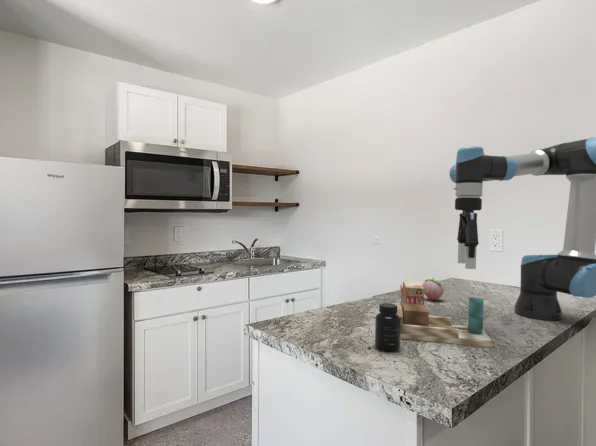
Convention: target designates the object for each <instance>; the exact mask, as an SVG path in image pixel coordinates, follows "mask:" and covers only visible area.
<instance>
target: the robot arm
mask: <svg viewBox="0 0 596 446" xmlns="http://www.w3.org/2000/svg"><path fill="white" fill-rule="evenodd" d="M526 175H532V176H534V177H535V176H536V177H538V176H565V178H566V179H567V181H569V183H570V185H569V193H568V201H567V202H568V204H567V211H566V221H565V231H564V239H563V248H562V249H561V251H560V252H558V253H557V254H525V255H523V257H521V264H520V292H519V295H518V297H517V299H516V302H515V305H514V311H513V312H514V313H515V314H517V315H519V316H521V317H524V318H525V317H526V318H530V319H535V320H542V321H543V320H544V321H558V320H562V319H563V311H562V308H561V305H560V302H559V300H558V299H559V298H558V293H561V294H567V295H571V296H573V297H578V298H579V297H580V298H585V299H586V298H587V299H588V298H594V297H596V253H595V250H596V137H595V136H594V137H589V138H585V139H579V140H575V141H569V142H563V143H559V144H555V145H552V146H549V147H545V148H541V149H535V150H532V151H531V152H529V153H525V154H516V155H510V156H509V155H508V156H505V155H488V154H485V152H484V148H483V147H482V146H479V145H478V146H477V145H475V146H473V145H471V146H462V147H461V148H458V150H457V152H456V160H455V163H454V164H453V165H452V166H451V167H450V170H449V178H450V180H451V181H452V182H453V183H454V184H455V186H453V190H455V197H456V198H455V199H454V209H455V210H456V211H462V212H460V213H459V222H458V230H457V238H456V240H457V242H458V245H457V264H464V269H465V270H477V269H476V268H477V267H476V266H477V246H479V235H478V234H479V231H478V220H477V219H478V213H477V212H475V211H481V210H482V206H483V205H482V204H483V203H482V202H483V199H482V198H481V197H483V187H484V186H483V182H489V181H490V182H491V181H499V182H502V181H511V180H512V179H513V178H514V177H520V176H526Z"/></svg>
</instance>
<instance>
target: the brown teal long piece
mask: <svg viewBox="0 0 596 446" xmlns="http://www.w3.org/2000/svg"><path fill="white" fill-rule="evenodd" d="M484 303H485V302H484V299H483V298H481V297H476V296H475V297H468V311H467V313H468V314H467V316H468V319H467V326H468V328H466V327H454V326H442V325H430V324H428V323H429V316H430V312H429V309H428V308H427V305H426V304H424V305H420V304H406V303H403V312H402V313H403V324H408V325H420V326H431V327H443V328H455V329H458V330H468V331H469V332H471V333H475V334H482V333H483V331H484V330H483V329H484V327H483V326H484Z"/></svg>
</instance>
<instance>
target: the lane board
mask: <svg viewBox="0 0 596 446" xmlns="http://www.w3.org/2000/svg"><path fill="white" fill-rule="evenodd" d="M396 314H397V315H398V316H399V317H400V319H401V329H400V340H402V339H403V340H412V341H420V342H421V341H422V342H434V343H442V344H443V343H444V344H455V345H465V346H475V347H477V346H478V347H485V348H493V346H494V344H493V340H492V338H490V336H489V335H488V334H487V333H486V332H485V331H484V330H483V333H482V334H475V333H471V332H469V331H468V330H458V329H455V328H443V327H431V326H420V325H408V324H403V312H402V308H401V305H397V313H396ZM428 324H430V325H442V326H454V327H466V328H468V325H458V324H452V318H451V317H450V316H440V315H429V323H428Z"/></svg>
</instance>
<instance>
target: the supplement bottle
mask: <svg viewBox="0 0 596 446" xmlns="http://www.w3.org/2000/svg"><path fill="white" fill-rule="evenodd" d="M397 306H398V305H397V304H394V303H391V302H390V303H389V302H384V303H379V307H378V308H379V309H378V312H379V313H377V314H376V315H375V321H374V322H375V324H374V325H375V326H374V329H375V330H374V333H375V334H374V346H375V348H376V349H377V350H379V351H381V352H387V353H394V352H397V351H399V350H400V348H401V339H400V329H401V319H400V317H399V316H398V315H397V314H396V313H397Z"/></svg>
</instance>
